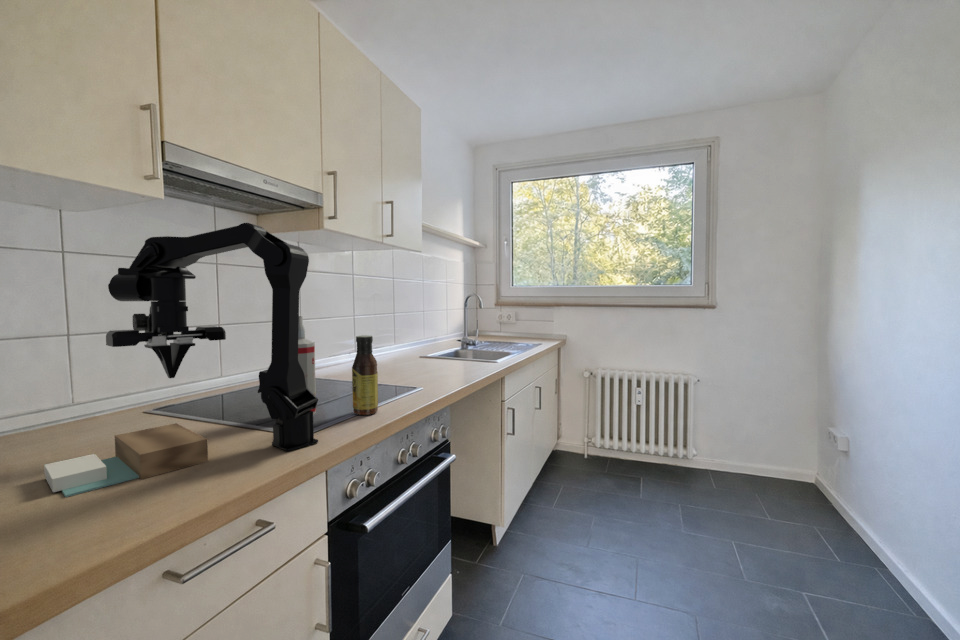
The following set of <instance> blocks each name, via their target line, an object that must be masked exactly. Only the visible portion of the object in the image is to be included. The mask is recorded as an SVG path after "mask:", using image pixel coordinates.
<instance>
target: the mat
mask: <svg viewBox="0 0 960 640" xmlns="http://www.w3.org/2000/svg"><path fill="white" fill-rule="evenodd" d="M100 460H101V461H102V462H103V463H104V464H105V465H106V468H107V479H104V480H100V481H96V482H92V483H88V484H85V485H81V486H77V487H73V488H69V489H65V490H61V491H60V492H61V493H62V494H63V496H64V497H65V498H69V497H72V496H75V495H80V494H83V493H87V492H92V491H95V490H98V489H102V488H106V487H110V486H113V485H117V484H121V483H125V482H129V481H132V480H137V479H140V478H139V475H138V474H136V473H135V472H134V471H133V470H132V469H131V468H130V467H128V466H127V465H126V464H125V463H124V462H123V461H122V460H120V459H119V458H118V457H116V456H113V457H109V458H104V459H100Z"/></svg>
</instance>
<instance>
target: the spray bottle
mask: <svg viewBox="0 0 960 640" xmlns="http://www.w3.org/2000/svg"><path fill="white" fill-rule="evenodd" d="M315 346H316V345H315V341H312V340H309V339H308V338H306V331H305V327H304V325H303V316H301V315H299V331H298V362H299V364H300V366H301V368H302V370H303V372H304V376H305V382H306V387H307V388H308V389H309V390H310V391H311V392H312V393H313V394H314V395H315V396H316V352H315ZM316 397H317V396H316ZM310 411H313V415H314V414H315V413H316V414H317V407H316V408H315V409H312V410H310ZM316 414H315V415H316ZM315 415H314V416H315Z"/></svg>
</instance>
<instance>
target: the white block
mask: <svg viewBox="0 0 960 640" xmlns="http://www.w3.org/2000/svg"><path fill="white" fill-rule="evenodd" d="M101 460H102V459H100V458H99V457H98V456H97V455H96V453H92V454H88V455H87V454H86V455H83V456H78V457H73V458H70V459H69V458H68V459H64V460H60V461H55V462H50V463H46V464H44V465H43V466H44V478H45V479H46V482H47V484H48V486H49V487H50V489H51V492H52V493H56V492H62V491H61V490H65V489H69V488H73V487H77V486H81V485H85V484H88V483H92V482H96V481H100V480H104V479H107V468H106V465H105V464H104V463H103V462H102V461H101Z"/></svg>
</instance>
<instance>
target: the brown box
mask: <svg viewBox="0 0 960 640" xmlns="http://www.w3.org/2000/svg"><path fill="white" fill-rule="evenodd" d="M208 446H209V445H208V438H206V437H204V436H202V435H200V434H198V433H196V432H195V431H192V430H190V429H188V428H186V427H185V426H182V425H180V424H178V423H176V422H175V423H171V424H167V425H160V426H155V427H151V428H146V429H141V430H136V431H130V432H126V433H121V434H120V433H119V434H116V435H114V450H115V451H114V453H115V456H114V457H118V458H119V459H120V460H122V461H123V462H124V463H125V464H126V465H127V466H128V467H130V468H131V469H132V470H133V471H134V472H135V473H136V474H138V475H139V478H138V479H140V480H144V479H147V478H151V477H155V476H158V475H162V474H166V473H169V472H173V471H177V470H180V469H185V468H187V467H191V466H195V465H199V464H203V463H206V462H209V449H208V448H209V447H208Z"/></svg>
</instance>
